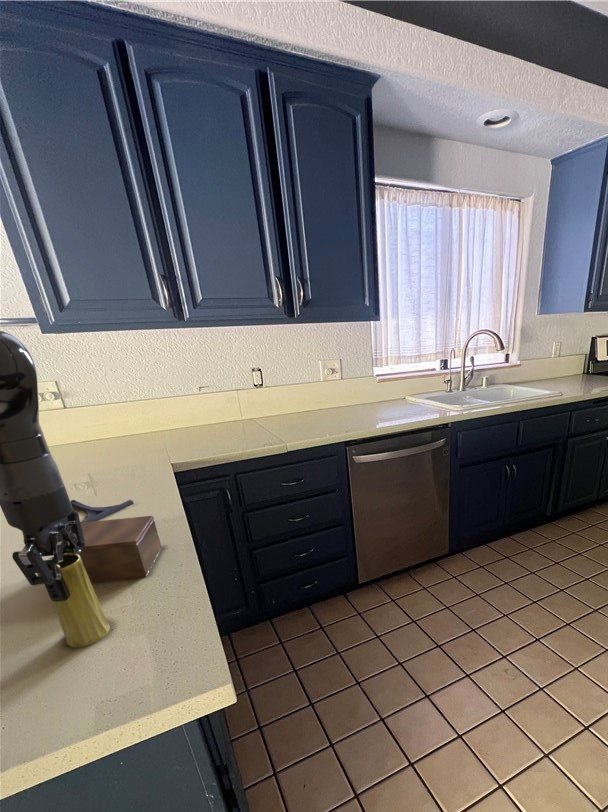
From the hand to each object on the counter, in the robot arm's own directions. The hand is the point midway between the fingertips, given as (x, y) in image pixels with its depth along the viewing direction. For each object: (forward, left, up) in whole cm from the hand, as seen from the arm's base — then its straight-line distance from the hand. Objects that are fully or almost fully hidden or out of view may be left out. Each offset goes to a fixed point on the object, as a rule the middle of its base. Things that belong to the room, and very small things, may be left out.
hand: (70, 588), depth 66 cm
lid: (-3, +22, -2) cm, 22 cm away
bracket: (-20, +54, -10) cm, 58 cm away
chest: (-3, +22, -10) cm, 24 cm away
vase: (0, 0, -10) cm, 10 cm away
